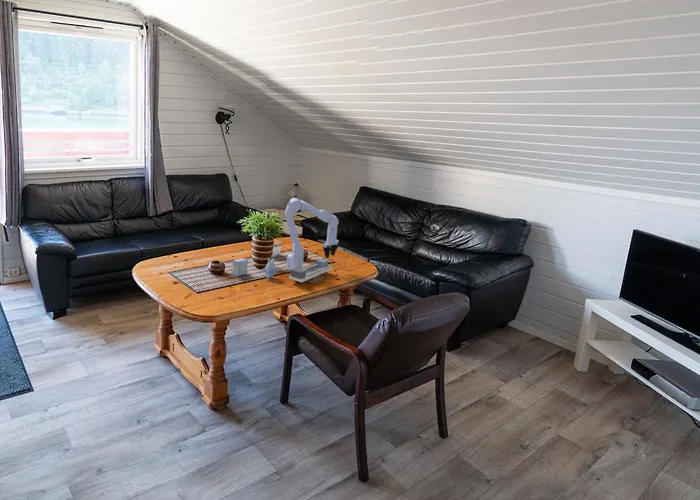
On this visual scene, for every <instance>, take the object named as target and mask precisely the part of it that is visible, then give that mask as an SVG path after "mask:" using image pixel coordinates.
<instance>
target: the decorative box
mask: <svg viewBox="0 0 700 500" xmlns="http://www.w3.org/2000/svg"><path fill="white" fill-rule="evenodd" d="M281 248H282V241H281V240H278V239H274V245H273V255H272V257H271V258H275V257H277V256H278V255H279V254H280V252H281Z"/></svg>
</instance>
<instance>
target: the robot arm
mask: <svg viewBox="0 0 700 500" xmlns="http://www.w3.org/2000/svg"><path fill="white" fill-rule="evenodd" d="M303 210H307V211H309V212H310V213H311V214H314V215H316V217H317V218H318V219H319V220H322V221H323V222H325V223H328V225H327V232H326V233H327V234H326V241H325V243H323V244H322V249H323V252H324V256H325V258H327V259H329V257H330V255H331V256H335V254H336V253H337V249H338V248H339V246H340V245H339V239H337V235H338V225H339V223H340V222H339V218H338V217H337V216H336V215H335V214H333V213H330V212H328V211H327V209H318V208H316V207H314V206H313V205H311V204H310V203H308V202H307V201H304V200H302V199H299V198H298V197H292V198H290V200H289V201H288V202H287V204H286V208H285V211H284V216H285V221H286V224H287V227H288V231H289V236H290V239H291V243H292V253H289V254H288V255H287V257H286V267H285V269H287V270H289V271H291V269H294V268H299V269H305V268H306V267H305V268H304V267H303V265H304V254H305V251H304V248H303V247H304V246H303V245H302V244H301V242H300V238H299V234H298V231H297V227H296V223H295V218H294V215H295V214H296V213H297V212H298V211H303Z"/></svg>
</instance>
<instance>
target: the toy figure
mask: <svg viewBox="0 0 700 500" xmlns="http://www.w3.org/2000/svg"><path fill="white" fill-rule="evenodd" d="M274 262H275V257H268V259H267V264H266V266H265V267H264V268H262V269H261V272H262V273H264V272H265V274H266V275H267V276H266V278H267V279H274V275H275V274H276V273H277V272H280V268H279V267H277V266H276V265H275V263H274Z"/></svg>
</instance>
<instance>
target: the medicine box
mask: <svg viewBox="0 0 700 500" xmlns="http://www.w3.org/2000/svg"><path fill="white" fill-rule="evenodd" d="M248 261H249V260H248V259H246V258H244V257H242V258H237V259H233V260H232V266H231V267H232V270H231V275H233V276H235V277H240V276H244V275H247V274H248V266H249V265H248V264H249V263H248Z"/></svg>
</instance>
